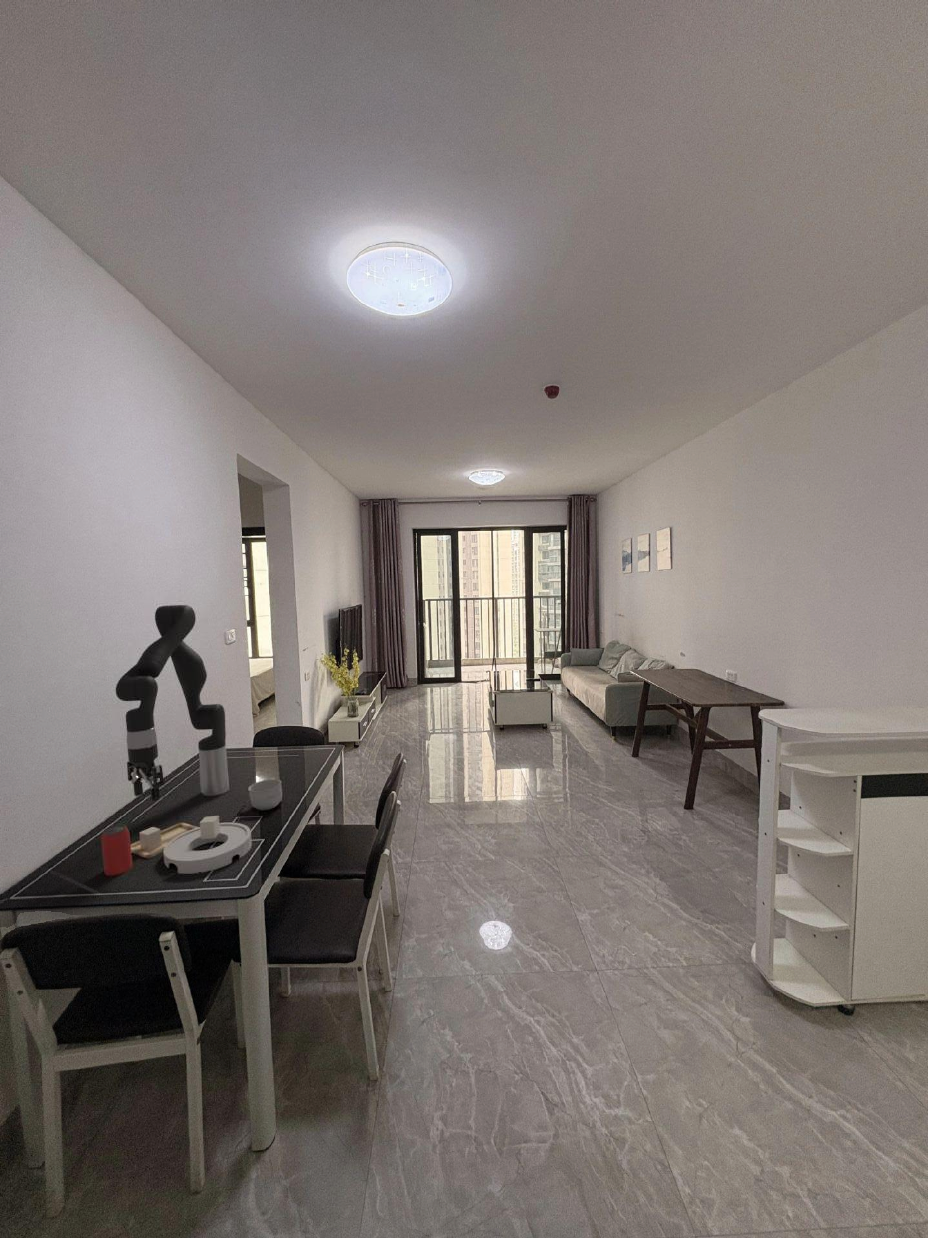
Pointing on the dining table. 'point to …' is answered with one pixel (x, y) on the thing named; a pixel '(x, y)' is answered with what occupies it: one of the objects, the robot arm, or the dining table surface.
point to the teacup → (265, 794)
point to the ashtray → (206, 860)
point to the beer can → (116, 850)
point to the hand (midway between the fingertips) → (147, 797)
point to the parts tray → (165, 837)
